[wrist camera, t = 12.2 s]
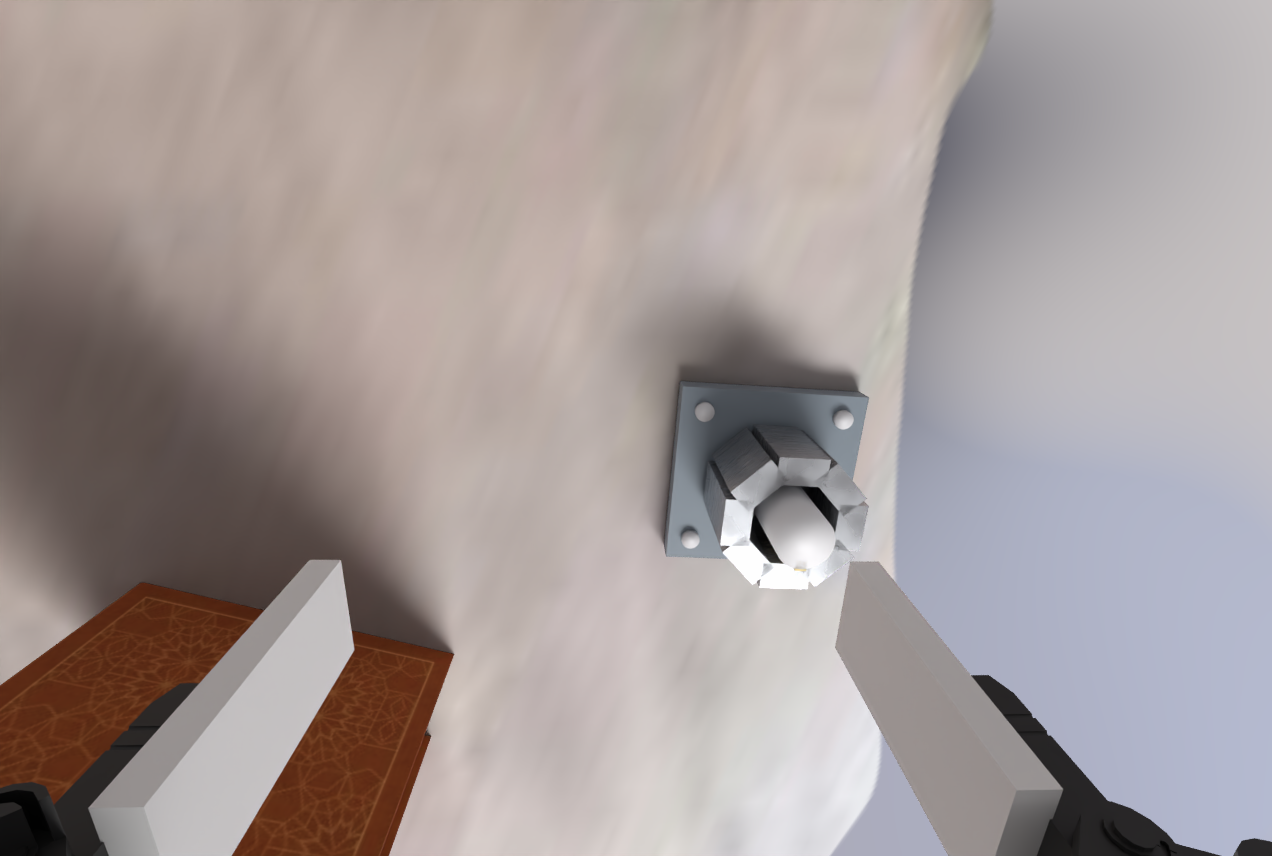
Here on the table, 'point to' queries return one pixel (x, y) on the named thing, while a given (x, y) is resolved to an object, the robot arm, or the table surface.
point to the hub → (759, 470)
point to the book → (185, 653)
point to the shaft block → (728, 409)
